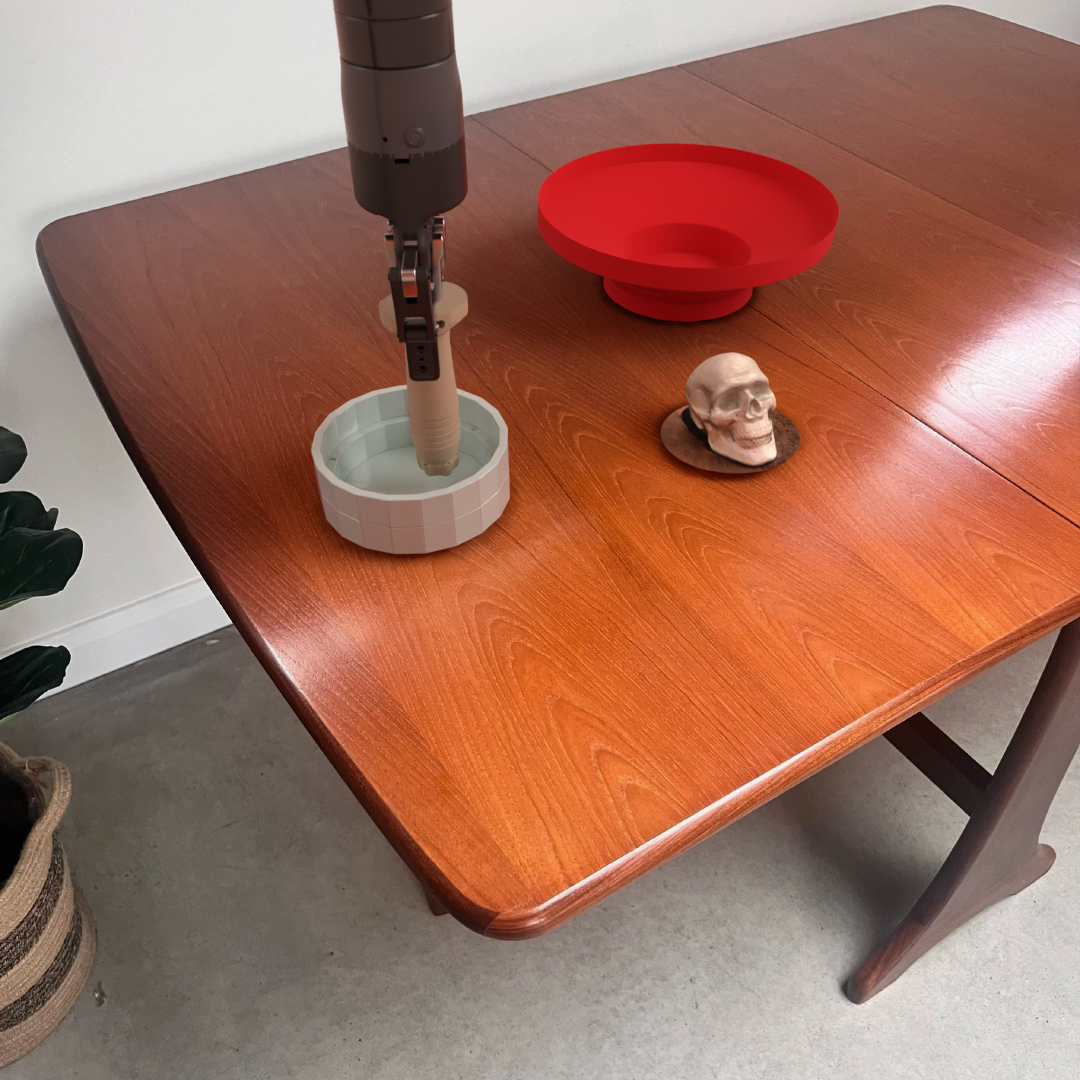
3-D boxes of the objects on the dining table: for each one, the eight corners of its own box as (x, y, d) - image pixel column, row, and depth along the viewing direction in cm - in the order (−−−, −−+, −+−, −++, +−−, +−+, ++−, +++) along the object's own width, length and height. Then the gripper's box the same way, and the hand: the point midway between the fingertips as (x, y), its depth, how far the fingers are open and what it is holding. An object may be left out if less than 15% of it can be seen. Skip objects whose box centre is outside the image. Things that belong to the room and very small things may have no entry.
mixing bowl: (311, 562, 80) (298, 502, 76) (335, 443, 92) (325, 386, 88) (510, 557, 81) (507, 497, 77) (510, 439, 92) (507, 382, 88)
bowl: (521, 352, 103) (519, 259, 96) (553, 219, 125) (553, 136, 119) (836, 368, 100) (855, 273, 93) (810, 229, 122) (825, 144, 116)
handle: (390, 465, 85) (367, 299, 75) (458, 439, 87) (446, 275, 77) (417, 496, 82) (398, 327, 72) (488, 468, 84) (479, 302, 74)
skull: (837, 452, 88) (777, 393, 81) (743, 530, 91) (678, 479, 85) (774, 374, 96) (714, 315, 90) (690, 449, 100) (626, 396, 93)
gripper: (357, 89, 72) (385, 309, 83) (332, 173, 61) (367, 412, 72) (467, 86, 72) (479, 306, 83) (460, 170, 61) (476, 410, 72)
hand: (427, 355), depth 77 cm, fingers closed on handle, 5 cm apart
